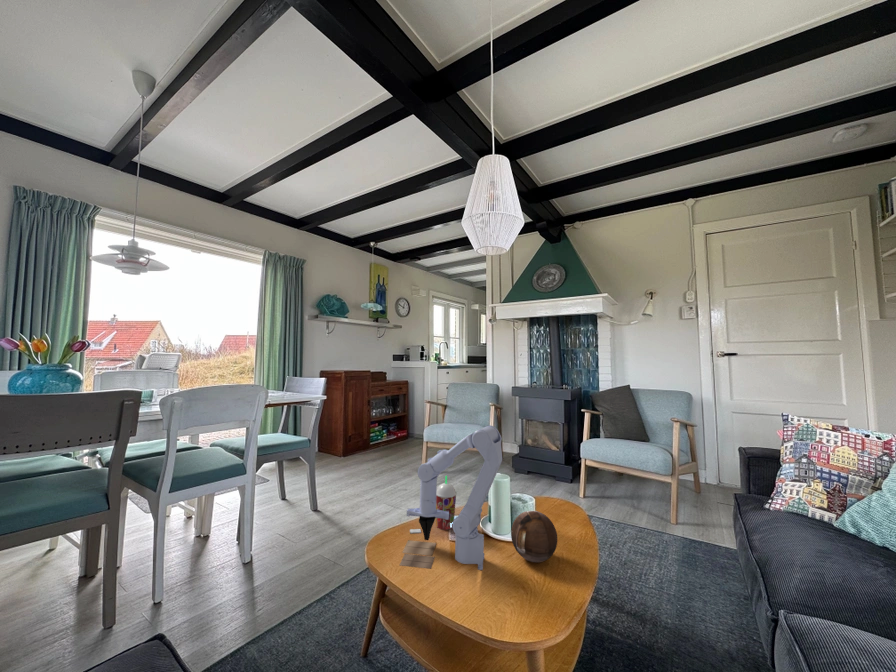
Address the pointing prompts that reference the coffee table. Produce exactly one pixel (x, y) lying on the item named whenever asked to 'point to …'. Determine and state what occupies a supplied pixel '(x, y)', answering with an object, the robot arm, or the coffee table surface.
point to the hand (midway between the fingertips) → (427, 538)
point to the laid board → (417, 561)
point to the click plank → (419, 548)
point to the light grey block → (415, 531)
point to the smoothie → (445, 504)
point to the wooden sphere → (534, 536)
